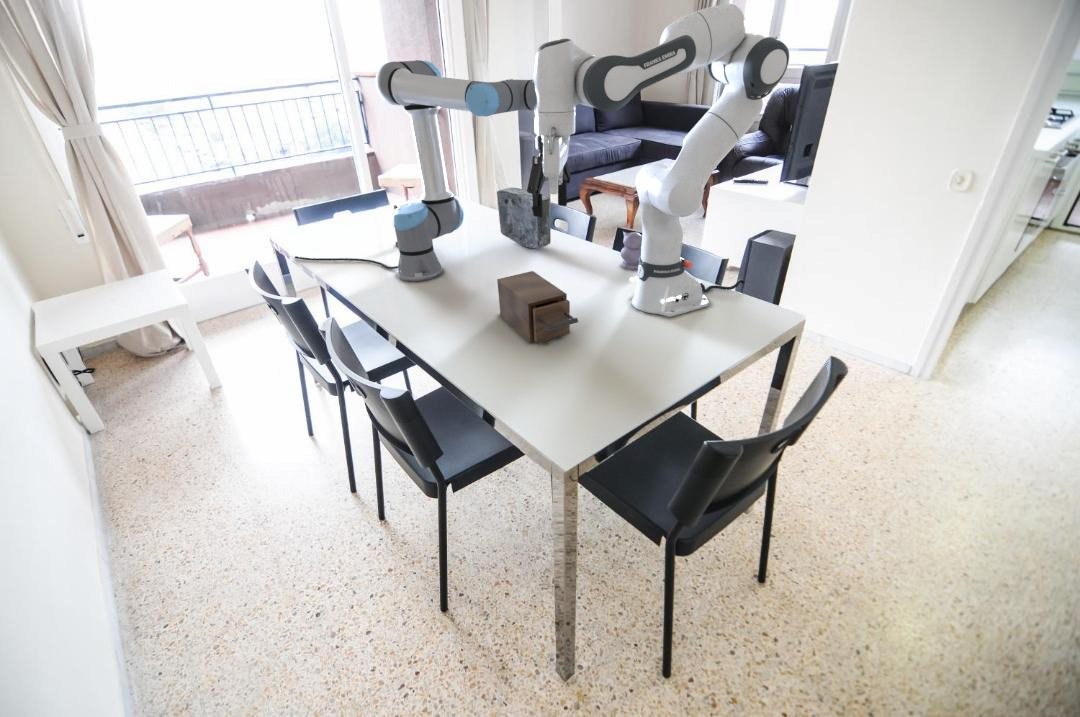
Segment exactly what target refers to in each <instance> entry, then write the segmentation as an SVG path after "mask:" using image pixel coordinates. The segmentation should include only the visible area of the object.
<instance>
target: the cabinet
mask: <svg viewBox="0 0 1080 717" xmlns="http://www.w3.org/2000/svg"><path fill="white" fill-rule="evenodd" d="M497 291H498V293H497V294H498V304H499V316H500V317H501V318H502V319H503V320H505V322H506V323H508V324H509V325H510V326H511V327H512V328H513V329H514V330H515V331H516V332H517V333H519V335H521V336H522V337H523V338H524V339H525V340H526V341H527V342H528V343H529V344H531V343H535V342H534V336H533V326H532V307H531V306H535V305H539V304H543V303H546V302H550V301H554V300H558V299H561V301H564V300H568V294H567V293H566V292H564V291H563V290H561V289H560V288H559V287H557V286H556V285H554V284H553V283H551V282H550V281H549V280H547V279H546V278H544V277H543V276H541V275H540V274H538V273H537V272H535V271H534V270H531V271H527V272H521V273H518V274H514V275H513V274H512V275H509V276H504V277H500V278H497Z"/></svg>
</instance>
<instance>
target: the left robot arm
mask: <svg viewBox="0 0 1080 717" xmlns="http://www.w3.org/2000/svg"><path fill="white" fill-rule="evenodd" d="M375 87H376V91H377V93H378V95H379V96H380V98H382V100H383V101H384V102H386V103H387V104H388V105H389V104H390V105H393V106H402V107H403V111H404V112H405V113H406V114H407V115H408V116H409V117H410V123H411V130H412V135H413V140H414V146H415V149H416V150H415V151H416V157H417V162H418V167H419V173H420V178H421V184H422V189H423V193H422V194H421V196H420V202H410V203H407V204H403V205H400V206H399V207H398V208H397V209H396V210H394V211H393V213H392V219H393V228H394V230H395V231H394V232H395V236H396V242H398V246H397V247H398V251H399V259H398V265H395V266H391V265H386V264H385V263H382V262H381V261H376V260H373V259H366V258H356V257H355V258H354V257H353V258H351V257H350V258H349V257H337V258H336V257H335V258H334V257H333V258H332V257H331V258H329V257H326V258H324V257H320V258H319V257H316V258H315V257H304V256H298V255H295V256H294V259H298V260H305V261H318V262H319V261H323V262H324V261H330V262H331V261H334V262H335V261H354V262H355V261H356V262H366V263H373V264H377V265H380V266H382V267H384V268H385V269H389V270H393V269H394V270H396V269H397V276H398V278H399V279H400V280H402V281H406V282H413V283H414V282H425V281H429V280H432V279H435V278H438V277H439V276H440V275H441V274H442V273H443V268H442V264H441V263H440V260H439V259H438V256H437V254H436V252H435V250H434V243H433V240H435V239H437V238H441V237H442V236H445V235H448V234H452V233H453V232H454V231H457V230H458V229H459V228H460V227H461V226H462V224H463V222H464V216H465V215H464V208H463V205H462V204H461V203H460V201H459V200H458V199H457V198H456V197H455V194H454V192H452V191H451V190H450V189H449V183H448V177H447V170H446V165H445V158H444V152H443V145H442V140H441V138H442V137H441V133H440V127H439V120H438V112H439V111H440V109H441V108H442V109H449V110H455V111H462V112H470V113H471V114H472V115H474V116H476V117H490V116H492V115H499V114H505V113H510V112H511V113H512V112H517V111H534V112H533V113H534V133H535V134H536V105H537V95H536V92H535V71H534V72H533V75H532V79H514V78H510V79H503V80H500V81H480V80H479V81H478V80H472V79H471V80H469V79H464V78H463V79H462V78H454V77H446V76H445V77H444V76H443V75H442V72H441V71H440V69H439V68H438V67H437V66H436V65H435V64H434V63H432V62H430V61H428V60H421V59H420V60H418V59H415V60H402V61H401V60H400V61H389V62H386V63H384V64H383V65H382V66H381V67H379V69H378V71H377V72H376V76H375ZM535 149H536V150H537V151H538V152H539V155H533V156H532V157H531V158H532V160H531V161H532V163H531V169H530V174H529V179H528V184H527V188H526V190H527V192H528V193H530V194H532V200H533V214H534V216H536V217H543V212H542V195H543V194H542V193H541V191H542V188H543V185H544V184H545V183H544V182H545V180H546V177H545V176H544V174H543V142H542V136H541V135H537V134H536V135H535ZM571 180H572V175H571V171H570V168H569V164H568V160H567V161H566V163H565V165H564V167H563V175H562V184H561V185H558V193H557V206H562V207H567V206H568V199H567V198H568V197H567V196H568V195H567V193H568V190H567V189H568V184H570V183H571Z"/></svg>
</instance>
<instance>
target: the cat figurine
mask: <svg viewBox="0 0 1080 717" xmlns="http://www.w3.org/2000/svg"><path fill="white" fill-rule="evenodd" d="M622 232H623V234H622V235H623V241H622V243H623V246H624V247H622V249H621V251H620V256H621V258H622V260H623V261H622V266H621V267H622V268H623V269H626V270H630V271H631V270H638V265H639V257H640V256H641V246H642V234H640V233H639V232H634V231H633V232H626V231H622Z"/></svg>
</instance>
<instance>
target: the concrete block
mask: <svg viewBox="0 0 1080 717" xmlns="http://www.w3.org/2000/svg"><path fill="white" fill-rule="evenodd" d="M496 197H497V208H498V220H499V221H498V222H499V228H500V233H501V235H503V236H504V237H506V238H508V239H510V240H511V241H513V242H515V243H517V244H519V245H521V246H522V247H526V248H528V249H541V248H543V247H546V246H549V245H550V244H551V242H552V241H551V240H552V238H551V235H552V234H551V198H550V197H549V196H548V195H544V194H542V212H543V217H536V216H534V214H533V200H532V194H530V193H528V192H527V189H524V188H518V187H507V188H502V189H499V190H497V191H496Z"/></svg>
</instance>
